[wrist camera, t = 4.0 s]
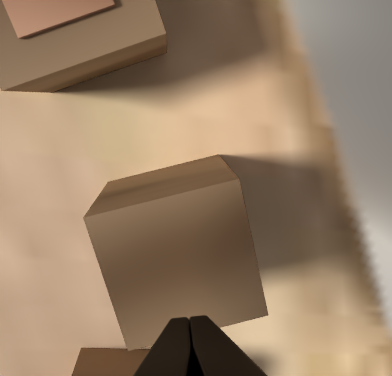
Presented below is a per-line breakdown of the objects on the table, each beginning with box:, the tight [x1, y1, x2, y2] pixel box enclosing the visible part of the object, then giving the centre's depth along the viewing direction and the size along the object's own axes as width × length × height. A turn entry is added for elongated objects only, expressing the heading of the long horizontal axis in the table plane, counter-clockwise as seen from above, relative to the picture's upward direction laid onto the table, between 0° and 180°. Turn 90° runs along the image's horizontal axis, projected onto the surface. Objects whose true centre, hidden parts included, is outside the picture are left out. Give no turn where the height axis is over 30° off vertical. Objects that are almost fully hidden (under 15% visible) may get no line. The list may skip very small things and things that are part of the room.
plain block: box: [83, 155, 268, 351], centre depth 15 cm, size 5×5×5 cm
